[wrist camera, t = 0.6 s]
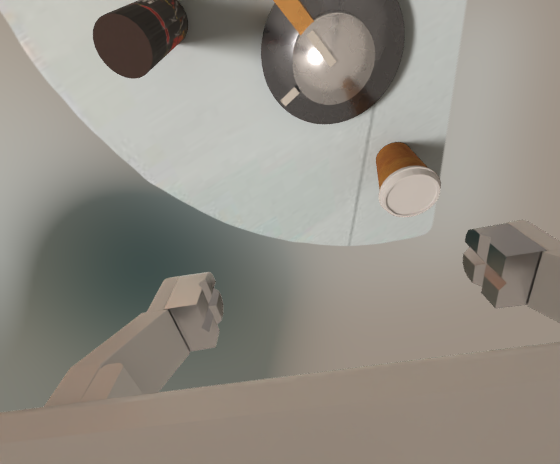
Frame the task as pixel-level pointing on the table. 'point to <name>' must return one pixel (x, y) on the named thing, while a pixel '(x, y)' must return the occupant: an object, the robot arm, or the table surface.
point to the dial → (329, 53)
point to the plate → (279, 58)
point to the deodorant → (139, 35)
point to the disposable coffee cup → (405, 181)
